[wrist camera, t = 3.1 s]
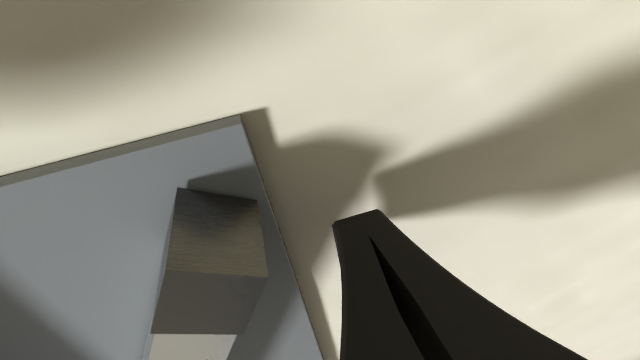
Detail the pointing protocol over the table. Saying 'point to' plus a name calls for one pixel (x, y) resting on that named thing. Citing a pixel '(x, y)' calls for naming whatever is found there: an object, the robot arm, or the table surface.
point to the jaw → (207, 277)
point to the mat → (129, 249)
